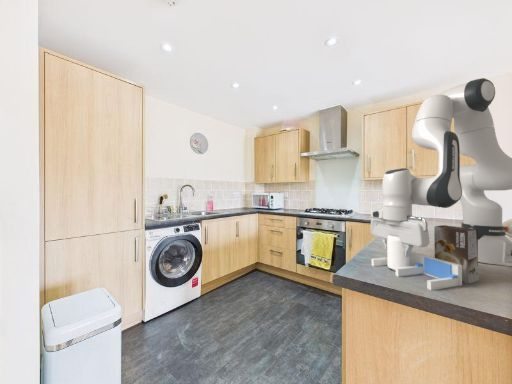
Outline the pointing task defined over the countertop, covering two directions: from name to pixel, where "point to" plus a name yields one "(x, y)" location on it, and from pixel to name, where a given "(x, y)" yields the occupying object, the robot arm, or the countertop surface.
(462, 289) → the countertop surface
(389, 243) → the can
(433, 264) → the white pronged rack
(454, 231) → the coffee box
